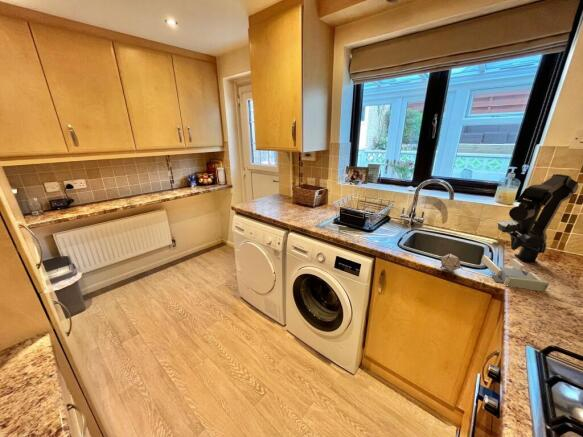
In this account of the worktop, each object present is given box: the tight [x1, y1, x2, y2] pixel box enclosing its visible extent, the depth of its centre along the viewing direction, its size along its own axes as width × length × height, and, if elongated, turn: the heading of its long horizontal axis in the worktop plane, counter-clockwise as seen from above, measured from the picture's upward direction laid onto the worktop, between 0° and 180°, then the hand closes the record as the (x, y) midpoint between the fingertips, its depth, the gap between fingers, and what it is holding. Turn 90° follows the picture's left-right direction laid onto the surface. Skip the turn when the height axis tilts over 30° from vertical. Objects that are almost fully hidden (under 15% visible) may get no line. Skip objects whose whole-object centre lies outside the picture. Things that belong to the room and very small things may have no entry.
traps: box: [491, 270, 529, 284], centre depth 102 cm, size 6×22×1 cm, turn 101°
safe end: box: [505, 276, 550, 292], centre depth 95 cm, size 1×13×4 cm, turn 77°
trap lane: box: [481, 254, 549, 292], centre depth 104 cm, size 20×13×3 cm
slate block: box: [499, 266, 527, 282], centre depth 100 cm, size 7×7×4 cm
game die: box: [438, 251, 463, 274], centre depth 105 cm, size 9×8×10 cm
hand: (512, 249), depth 104 cm, fingers closed
